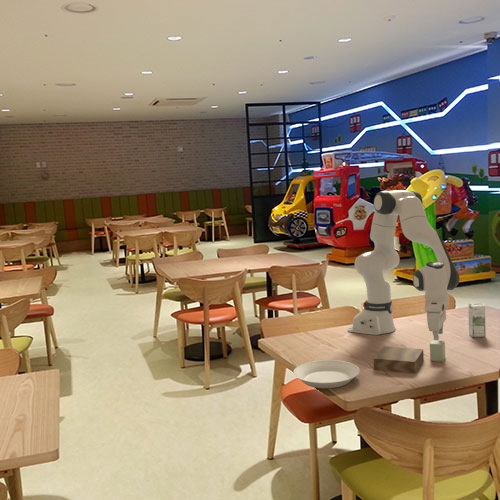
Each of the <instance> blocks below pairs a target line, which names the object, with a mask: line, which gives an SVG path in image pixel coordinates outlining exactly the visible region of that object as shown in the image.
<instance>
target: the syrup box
mask: <svg viewBox="0 0 500 500" xmlns="http://www.w3.org/2000/svg"><path fill="white" fill-rule="evenodd" d="M468 333H469V335H470V337H472V338H486V337H487V336H486V335H487V334H486V306H485V305H484V304H483V303H482V302H479V303H468Z"/></svg>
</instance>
